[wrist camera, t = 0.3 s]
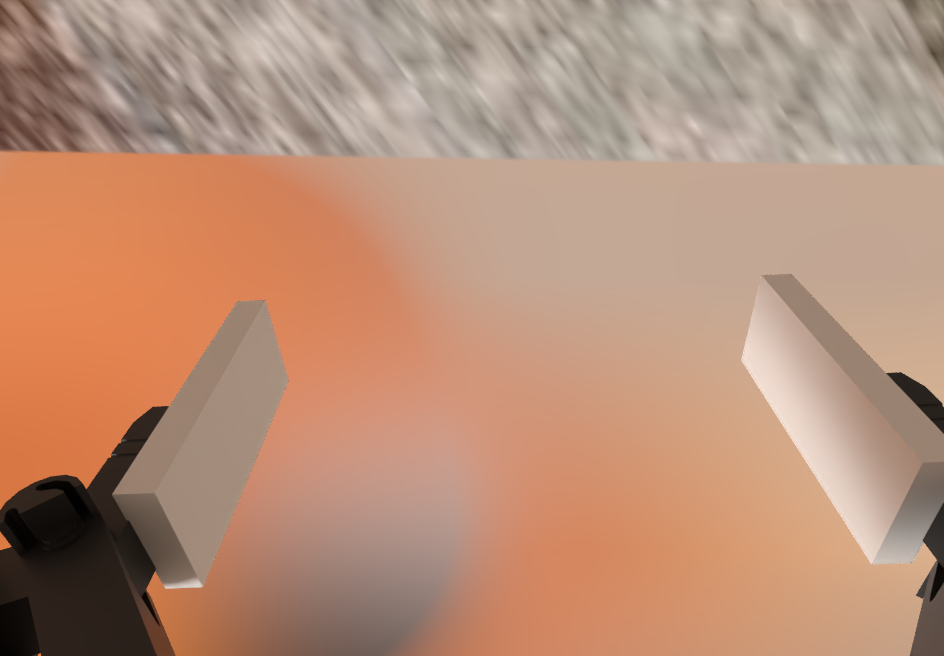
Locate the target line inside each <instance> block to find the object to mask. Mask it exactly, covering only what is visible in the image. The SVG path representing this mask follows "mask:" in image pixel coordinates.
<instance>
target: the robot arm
mask: <svg viewBox="0 0 944 656" xmlns="http://www.w3.org/2000/svg"><path fill="white" fill-rule="evenodd" d="M742 362H743V364H744V365H745V367H746V368H747V370H748V372H749V373H750V375H751V376H752V378H753V379H754V381H755V382H756V384H757V386H758V387H759V389H760V390H761V392H762V393H763V395H764V397H765V398H766V400H767V401H768V403H769V404H770V406H771V407H772V409H773V411H774V412H775V414H776V415H777V417H778V418H779V420H780V422H781V423H782V425H783V426H784V428H785V429H786V431H787V433H788V434H789V436H790V437H791V439H792V440H793V442H794V443H795V445H796V447H797V448H798V450H799V451H800V453H801V454H802V456H803V458H804V459H805V461H806V462H807V464H808V465H809V467H810V469H811V470H812V472H813V473H814V475H815V476H816V478H817V480H818V481H819V483H820V484H821V486H822V487H823V489H824V491H825V492H826V494H827V495H828V497H829V498H830V500H831V501H832V503H833V505H834V506H835V508H836V509H837V511H838V512H839V514H840V515H841V517H842V519H843V520H844V522H845V523H846V525H847V527H848V528H849V530H850V531H851V533H852V534H853V536H854V538H855V539H856V541H857V542H858V544H859V545H860V547H861V548H862V550H863V552H864V553H865V555H866V556H867V558H868V559H869V561H870V563H871V564H894V563H912V562H913V560H914V559H915V557H916V555H917V553H918V551H919V550H920V548H921V546H922V544H923V543H925V544H926V546H927V547H928V548H929V550H930V551H931V552H932V554H933V555H934V556H935V558H936V559H937V561H936V562H935V564H934V566H933V567H932V569H931V571H930V573H929V574H928V576H927V578H926V579H925V581H924V583H923V584H922V586H921V588H920V589H919V591H918V593H917V594H916V596H918V597H920V598H924V599H923V603H922V608H921V612H920V616H919V620H918V624H917V628H916V632H915V637H914V641H913V645H912V650H911V653H910V656H944V407H943V406H942V403H941V402H940V401H939V400H938V399H937V398H936V397H935V396H934V395H933V394H932V393H931V392H930V391H929V390H928V389H927V388H926V387H925V386H923V385H922V384H920V383H918V382H916V381H915V380H913V379H911V378H909V377H908V376H906V375H905V374H903V373H901V372H899V373H885V372H884V371H883V370H882V369H881V368H880V367H879V365H878V364H877V363H876V362H875V361H874V360H873V359H872V358H871V357H870V356H869V355H868V354H867V353H866V352H865V351H864V350H863V349H862V348H861V347H860V346H859V345H858V343H856V342H855V340H854V339H853V338H852V337H851V336H850V335H849V334H848V333H847V332H846V331H845V330H844V329H843V328H842V327H841V326H840V325H839V323H838V322H837V321H835V319H834V318H833V317H832V316H831V315H830V314H829V313H828V312H827V311H826V310H825V309H824V308H823V307H822V306H821V305H820V304H819V303H818V301H817V300H816V299H815V298H814V297H812V295H811V294H810V293H809V292H808V291H807V290H806V289H805V288H804V287H803V286H802V285H801V284H800V283H799V282H798V280H797V279H796V278H795V277H794V276H793V275H792V274H780V275H762V276H761V280H760V284H759V289H758V293H757V297H756V301H755V305H754V309H753V314H752V318H751V322H750V326H749V331H748V335H747V340H746V343H745V348H744V352H743V356H742ZM287 384H288V377H287V373H286V370H285V366H284V363H283V360H282V356H281V352H280V349H279V345H278V342H277V339H276V335H275V332H274V328H273V325H272V322H271V318H270V314H269V311H268V308H267V304H266V300H257V301H238V302H237V303H236V305H235V306H234V307H233V309H232V310H231V312H230V313H229V315H228V317H227V318H226V320H225V321H224V323H223V324H222V326H221V327H220V329H219V331H218V332H217V334H216V335H215V337H214V338H213V340H212V341H211V343H210V344H209V346H208V347H207V349H206V350H205V352H204V354H203V355H202V357H201V358H200V360H199V361H198V363H197V364H196V366H195V367H194V369H193V371H192V372H191V374H190V375H189V377H188V378H187V380H186V381H185V383H184V384H183V386H182V388H181V389H180V391H179V392H178V394H177V395H176V397H175V398H174V400H173V401H172V403H171V404H170V406H162V407H152V408H151V409H150V410H148V411H147V412H146V413H145V414H143V415H142V416H141V417H140V418H138V419H137V420H136V421H135V422H133V424H132V425H131V427H130V428H129V429H128V431H127V433H126V434H125V435H124V437H123V438H122V439H121V443H119V444H118V445H117V447H116V448H115V449H114V451H113V452H112V454H111V458H108V459H107V461H106V462H105V464H104V465H103V466H102V468H101V469H100V471H99V472H98V474H97V475H96V476H95V478H94V479H93V481H92V482H91V484H90V485H89V487H88V488H87V489H86V488H85V487H84V485H83V484H82V482H81V481H80V480H79V479H78V478H77V477H73V476H68V475H60V476H52V477H49V478H46V479H43V480H40V481H37V482H35V483H33V484H31V485H29V486H28V487H26V488H24V489H22V490H20V491H19V492H18V493H16V494H15V495H14V496H13V497H12V498H11V499H10V500H8V501H7V502H6V503H5V505H4V506H3V507H2V509H1V510H0V532H1V533H2V534H3V536H4V537H5V538H6V539H7V541H8V542H9V543H10V545H11V546H12V547H10V548H7V549H3V550H0V656H38V654H39V653H41V656H175V653H174V651H173V649H172V646H171V644H170V641H169V639H168V637H167V634H166V632H165V629H164V627H163V625H162V622H161V620H160V618H159V615H158V613H157V610H156V608H155V606H154V603H153V601H152V599H151V597H150V595H149V593H148V592H147V590H146V588H147V586H148V584H149V582H150V580H151V578H152V576H153V574H154V572H155V571H156V573H157V575H158V576H159V578H160V580H161V582H162V584H163V585H164V587H165V588H190V587H191V588H193V587H203V586H204V583H205V581H206V578H207V576H208V573H209V571H210V569H211V566H212V564H213V562H214V559H215V557H216V554H217V552H218V550H219V547H220V545H221V542H222V540H223V537H224V535H225V533H226V530H227V528H228V526H229V523H230V521H231V518H232V516H233V513H234V511H235V509H236V506H237V504H238V501H239V499H240V497H241V494H242V492H243V489H244V487H245V485H246V482H247V480H248V477H249V475H250V473H251V470H252V468H253V465H254V463H255V460H256V458H257V456H258V453H259V451H260V448H261V446H262V444H263V441H264V439H265V437H266V434H267V432H268V429H269V427H270V425H271V422H272V420H273V417H274V415H275V413H276V410H277V408H278V405H279V403H280V400H281V398H282V396H283V393H284V391H285V389H286V386H287Z"/></svg>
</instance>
